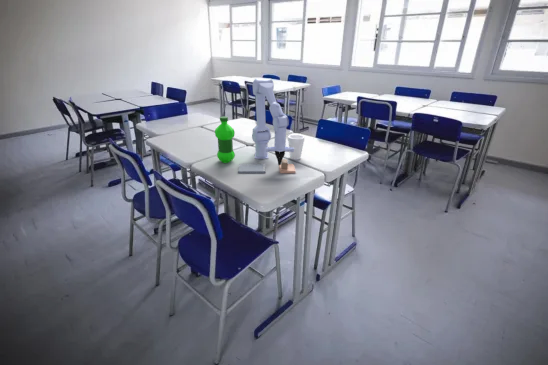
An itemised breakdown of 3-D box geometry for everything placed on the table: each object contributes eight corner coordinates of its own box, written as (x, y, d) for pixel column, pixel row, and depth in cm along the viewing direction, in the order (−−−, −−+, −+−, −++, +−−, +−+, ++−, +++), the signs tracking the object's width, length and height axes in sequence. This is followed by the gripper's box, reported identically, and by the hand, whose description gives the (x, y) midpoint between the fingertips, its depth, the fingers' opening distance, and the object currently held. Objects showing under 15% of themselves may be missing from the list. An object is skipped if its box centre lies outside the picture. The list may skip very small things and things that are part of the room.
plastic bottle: (224, 156, 166) (222, 114, 155) (239, 160, 162) (237, 117, 151) (213, 162, 159) (209, 117, 148) (227, 166, 154) (225, 120, 143)
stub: (279, 165, 155) (279, 157, 153) (293, 165, 155) (293, 157, 153) (280, 173, 146) (280, 164, 144) (295, 173, 146) (295, 164, 144)
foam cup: (293, 161, 161) (295, 140, 156) (284, 157, 168) (284, 136, 162) (306, 158, 166) (307, 137, 161) (296, 154, 173) (297, 133, 168)
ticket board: (239, 166, 154) (239, 163, 154) (265, 166, 155) (265, 163, 154) (238, 173, 145) (238, 171, 145) (265, 173, 146) (265, 171, 145)
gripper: (266, 142, 139) (265, 167, 145) (295, 142, 140) (293, 167, 146) (265, 137, 146) (265, 162, 152) (293, 138, 146) (292, 162, 152)
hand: (279, 164), depth 149 cm, fingers closed
